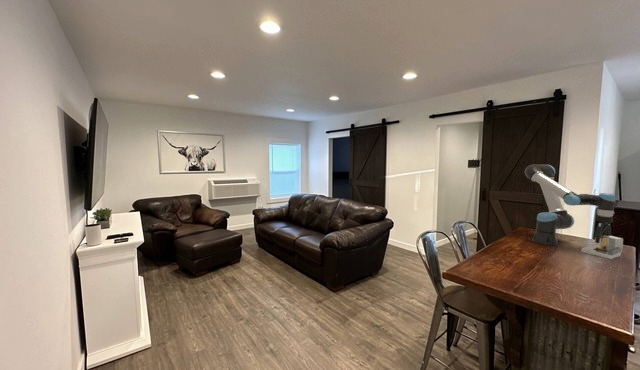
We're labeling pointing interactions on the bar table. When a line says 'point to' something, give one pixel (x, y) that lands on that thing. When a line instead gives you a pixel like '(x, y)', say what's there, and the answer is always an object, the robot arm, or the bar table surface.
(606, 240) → the bushing
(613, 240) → the small box
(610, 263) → the bar table surface
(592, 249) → the plate
